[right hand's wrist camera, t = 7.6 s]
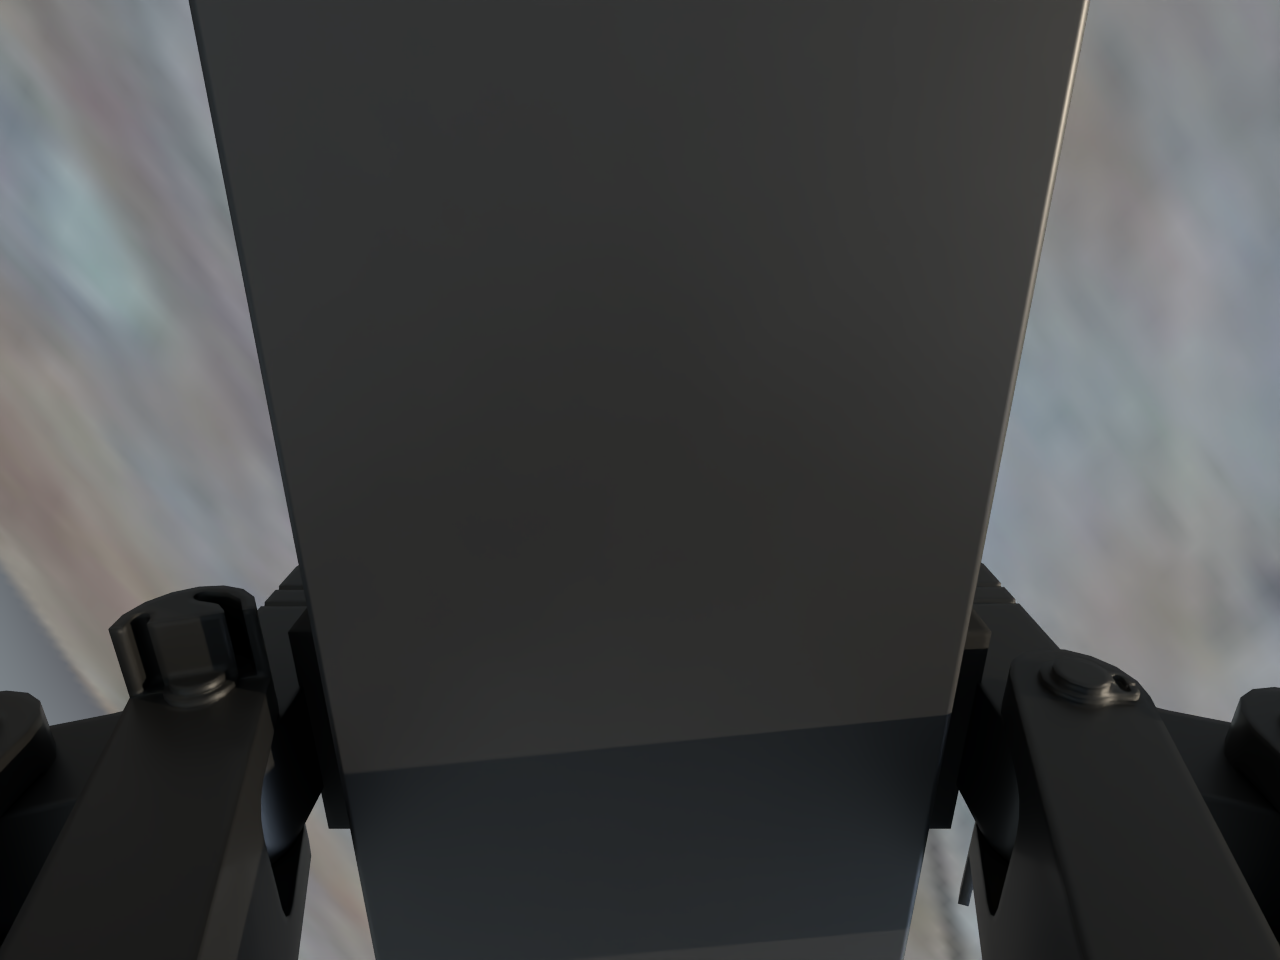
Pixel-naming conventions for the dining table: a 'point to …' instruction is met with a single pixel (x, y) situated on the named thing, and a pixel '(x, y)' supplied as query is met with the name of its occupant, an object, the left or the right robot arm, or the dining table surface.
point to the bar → (639, 438)
